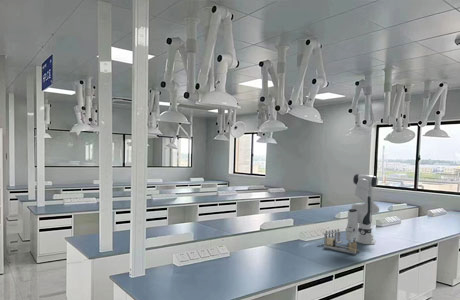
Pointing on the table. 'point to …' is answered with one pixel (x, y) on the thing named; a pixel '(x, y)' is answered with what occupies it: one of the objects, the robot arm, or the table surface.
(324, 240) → the test tube rack
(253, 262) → the table surface
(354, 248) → the wooden block
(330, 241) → the rail
